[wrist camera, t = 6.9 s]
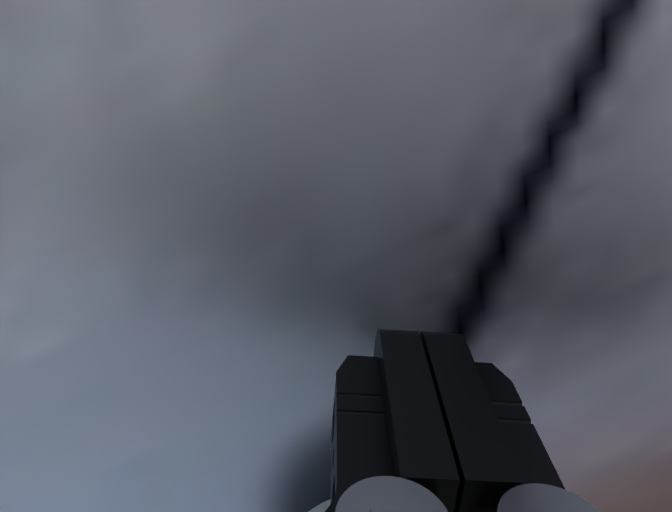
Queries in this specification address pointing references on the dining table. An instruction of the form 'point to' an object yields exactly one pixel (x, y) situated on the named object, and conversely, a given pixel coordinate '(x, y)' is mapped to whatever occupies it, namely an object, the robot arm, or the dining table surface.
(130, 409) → the dining table surface
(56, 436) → the dining table surface
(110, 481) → the dining table surface
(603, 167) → the dining table surface
